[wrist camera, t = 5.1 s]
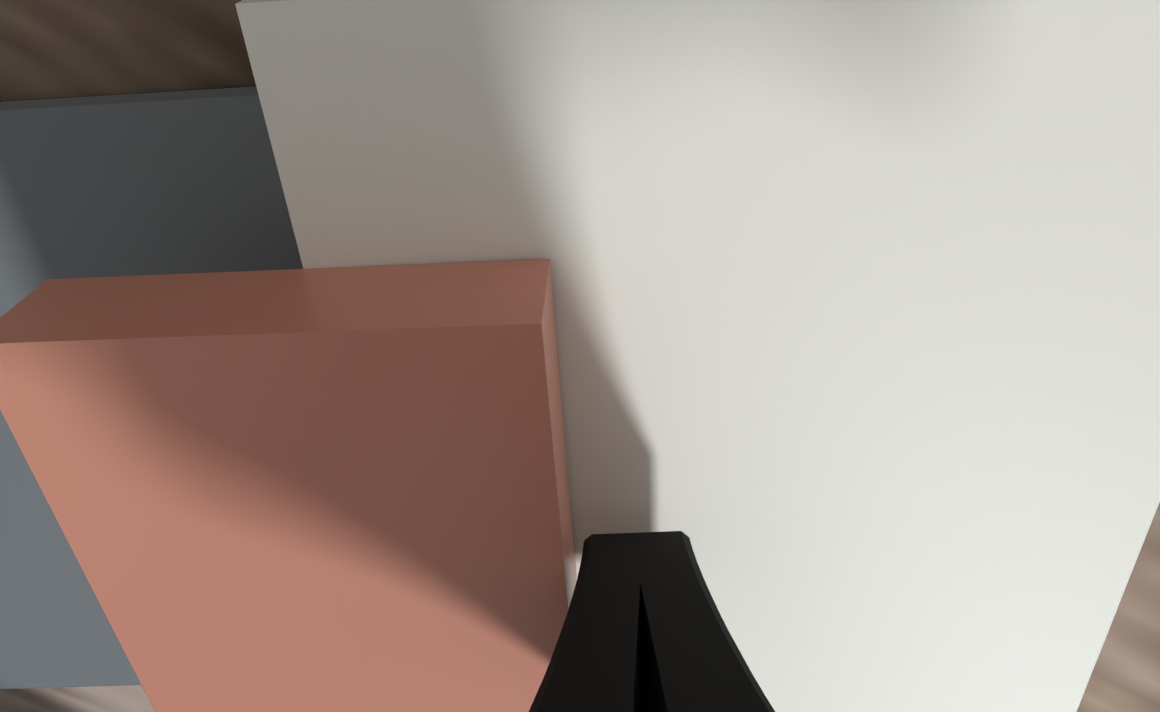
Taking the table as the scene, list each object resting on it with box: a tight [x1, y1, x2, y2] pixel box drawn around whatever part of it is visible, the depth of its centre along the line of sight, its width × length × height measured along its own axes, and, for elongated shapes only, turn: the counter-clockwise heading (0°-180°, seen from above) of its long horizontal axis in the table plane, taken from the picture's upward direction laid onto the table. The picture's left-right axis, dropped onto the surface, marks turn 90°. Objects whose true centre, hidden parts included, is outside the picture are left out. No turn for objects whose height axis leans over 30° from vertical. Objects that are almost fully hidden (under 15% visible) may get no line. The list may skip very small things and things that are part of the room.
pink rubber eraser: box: [0, 259, 577, 712], centre depth 12 cm, size 6×9×2 cm, turn 3°
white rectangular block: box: [235, 0, 1160, 712], centre depth 13 cm, size 11×15×3 cm
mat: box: [0, 86, 303, 689], centre depth 15 cm, size 10×12×1 cm
